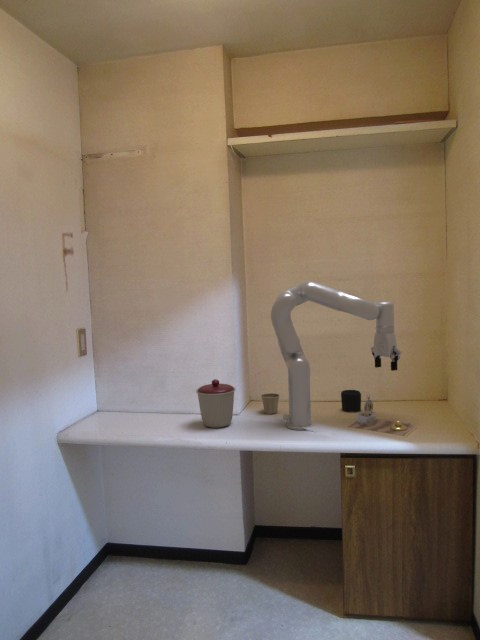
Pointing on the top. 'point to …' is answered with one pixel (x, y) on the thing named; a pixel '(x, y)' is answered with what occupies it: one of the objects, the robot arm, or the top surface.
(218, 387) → the canister
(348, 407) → the pen holder
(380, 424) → the walnut board
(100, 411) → the top surface
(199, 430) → the top surface
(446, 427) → the top surface
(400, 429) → the brass hub
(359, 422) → the steel ring
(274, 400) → the flower pot
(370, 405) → the pocket watch
